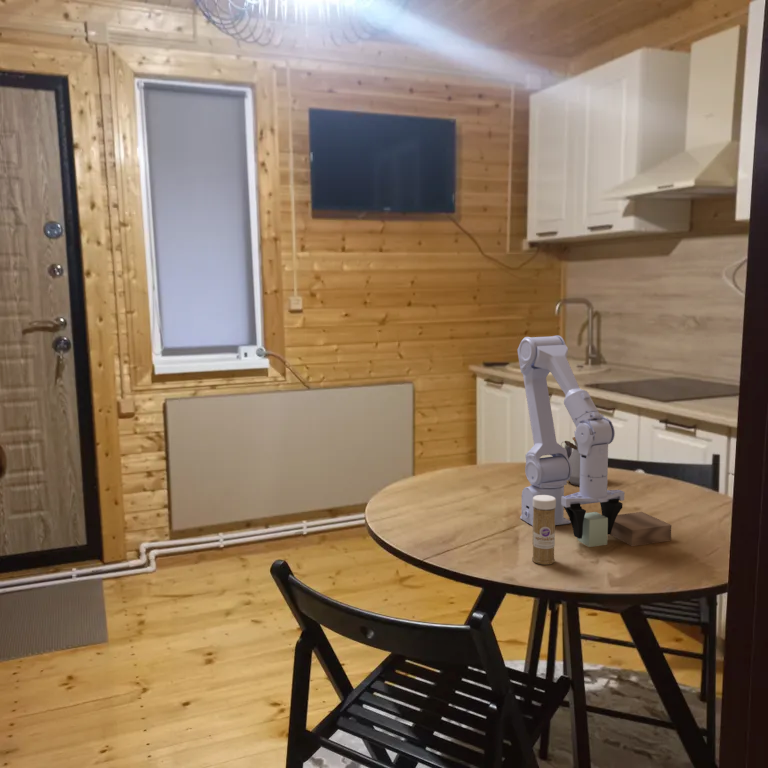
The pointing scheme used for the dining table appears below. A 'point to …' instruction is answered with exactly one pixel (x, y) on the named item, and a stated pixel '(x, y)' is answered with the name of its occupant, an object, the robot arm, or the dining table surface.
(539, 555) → the sprinkles bottle
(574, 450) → the coffee pot
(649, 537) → the walnut block
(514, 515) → the dining table surface
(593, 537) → the sage block
